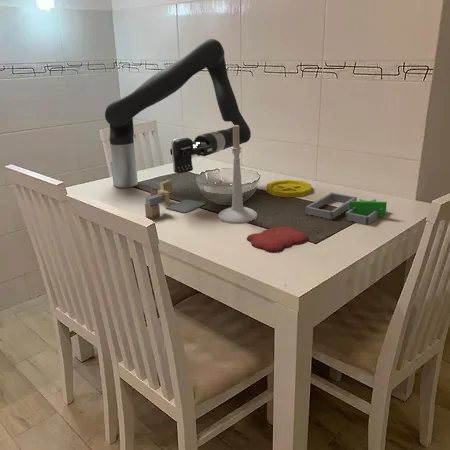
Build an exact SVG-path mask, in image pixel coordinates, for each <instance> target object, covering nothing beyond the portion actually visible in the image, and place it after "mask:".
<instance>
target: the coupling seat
mask: <svg viewBox="0 0 450 450" xmlns="http://www.w3.org/2000/svg"><path fill="white" fill-rule="evenodd" d="M203 205H204V206H206V205H207V203H205V202H201V201H195V200H191V199H184V200H181V201H179V202H177V203H173V204H170V205H167V206H166V207H165V209H166V210H169V211H174V212H178V213H181V214H187V213H190V212H192V211H194V210H197V209H199V208H201V206H202V207H204V206H203Z"/></svg>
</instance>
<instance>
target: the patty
mask: <svg viewBox="0 0 450 450" xmlns="http://www.w3.org/2000/svg"><path fill="white" fill-rule="evenodd" d="M246 241H247V242H249V243H250V244H251V247H253V248H255V249H257V250H262V251H264V252H265V253H266V252H267V253H271V254H278V253H282V252H283V251H284V250H285V249H290V248H292V246H298V245H303V244H305V243H307V242H309V236H308V235H307V234H306V233H305V232H303V231H299V230H296V229H295V228H294V227H292V226H274V227H272V228H267V229H265V230H263V231H261V232H258V233H251V234H249V235H248V236H247V237H246Z"/></svg>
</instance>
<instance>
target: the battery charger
mask: <svg viewBox="0 0 450 450" xmlns="http://www.w3.org/2000/svg"><path fill="white" fill-rule="evenodd" d="M192 141H193V140H192V139H191V138H189V137H184V136H183V137H178V138H175V139H172V142H171V148H172V155H171V156H172V157H171V158H172V166H173V172H174V173H176V174H184V173H188V172H191V171H193V170H194V166H193V161H192V160H193V159H192V158H193V157H192V156H193V155H191V156H187V157H183V153H182V152H183V150H186V149H191V148H192V147H193V142H192Z"/></svg>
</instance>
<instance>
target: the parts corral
mask: <svg viewBox="0 0 450 450" xmlns="http://www.w3.org/2000/svg"><path fill="white" fill-rule="evenodd" d="M332 201H333V202H334V201H335V202H339V203H342V204H341V205H339V206H338V207H336V208H334V209H333V210H326V209H320V208H322V207H323V206H324V205H326V204H328V203H330V202H332ZM350 201H358V197H356V196H352V195H346V194H341V193H335V192H329V193H328V194H326V195H324V196H323V197H320V198H319V199H316V200H315V201H314V202H312V203H310V204H308V205H306V206H305V207H304V215H306V214H308V215H307V216H310V215H314V216H313V217H315V216H319V217H318V218H320V217H323V218H322V219H325V218H328V219H327V220H329V219H333V218H334V219H336V218H337V217H339V216H340V215H342V214H343V213H344V221H346V220H349V221H348V222H351V221H354V222H353V223H355V222H357V223H356V224H361V225H366V226H369V225H370V224H371V223H372V222H373V223H374V221H375V220H377V219H378V218H379V217H380V216H378V210H375V211H374V212H372V213H371V214H369V215H368V216H364V215H359V214H354V210H355V209H356V208H355V207H353V209H350ZM319 207H320V208H319ZM346 210H347V211H346ZM380 210H383V208H380ZM344 211H345V212H344ZM341 213H342V214H341ZM338 215H339V216H338ZM336 216H337V217H336ZM335 217H336V218H335ZM334 219H333V220H334Z"/></svg>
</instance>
